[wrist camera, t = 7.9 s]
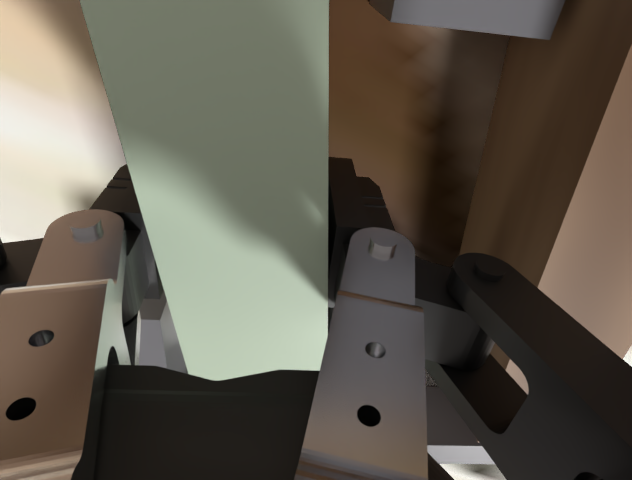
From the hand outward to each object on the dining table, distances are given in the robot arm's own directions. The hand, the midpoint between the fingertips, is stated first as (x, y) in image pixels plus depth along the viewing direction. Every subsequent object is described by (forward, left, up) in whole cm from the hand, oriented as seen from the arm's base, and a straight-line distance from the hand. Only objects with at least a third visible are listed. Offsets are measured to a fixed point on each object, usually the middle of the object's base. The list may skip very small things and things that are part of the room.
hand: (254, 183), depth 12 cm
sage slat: (0, 0, -1) cm, 1 cm away
